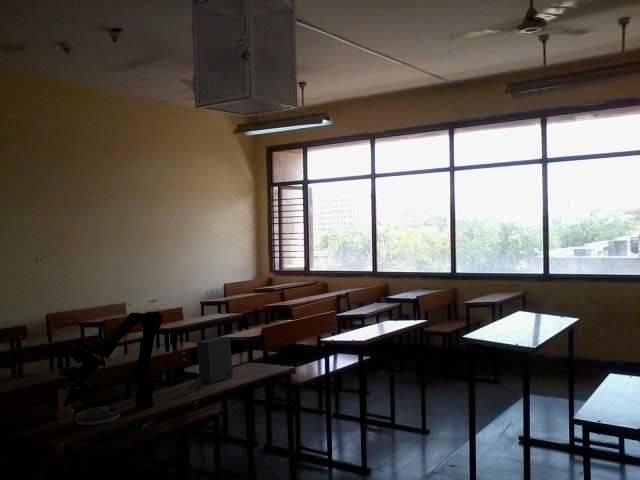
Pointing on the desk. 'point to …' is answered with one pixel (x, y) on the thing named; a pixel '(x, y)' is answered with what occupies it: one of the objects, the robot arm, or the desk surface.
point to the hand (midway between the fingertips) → (61, 405)
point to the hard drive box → (214, 359)
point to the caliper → (188, 388)
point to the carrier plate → (98, 415)
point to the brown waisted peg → (63, 411)
